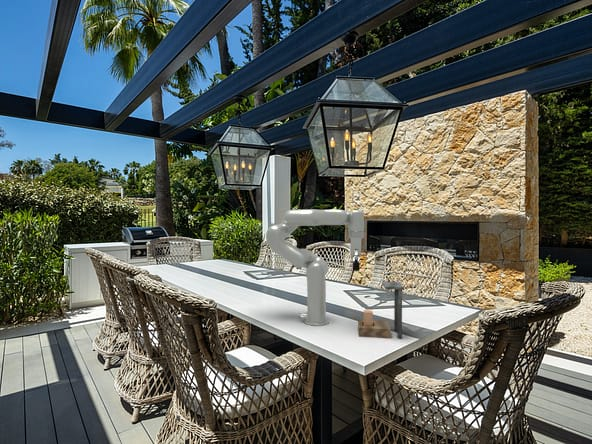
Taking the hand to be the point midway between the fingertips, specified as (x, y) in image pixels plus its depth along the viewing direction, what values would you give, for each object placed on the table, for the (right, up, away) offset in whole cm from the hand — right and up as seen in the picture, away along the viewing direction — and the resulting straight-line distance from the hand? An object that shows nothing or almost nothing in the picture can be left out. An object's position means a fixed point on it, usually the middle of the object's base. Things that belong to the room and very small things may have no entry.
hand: (355, 269), depth 166 cm
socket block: (+9, -28, -11) cm, 32 cm away
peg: (+4, -28, -10) cm, 30 cm away
